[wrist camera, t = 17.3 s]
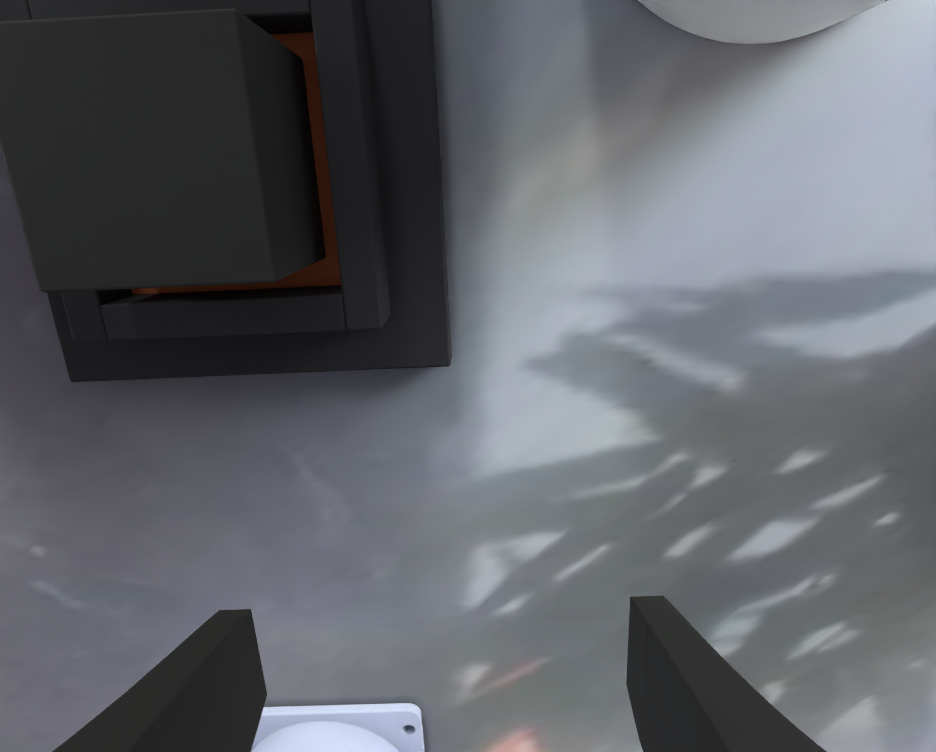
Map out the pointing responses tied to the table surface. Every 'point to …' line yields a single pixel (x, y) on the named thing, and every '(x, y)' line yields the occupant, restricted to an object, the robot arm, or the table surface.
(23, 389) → the table surface
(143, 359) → the base pad
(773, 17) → the tall pillar cylinder
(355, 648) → the table surface
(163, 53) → the black block
